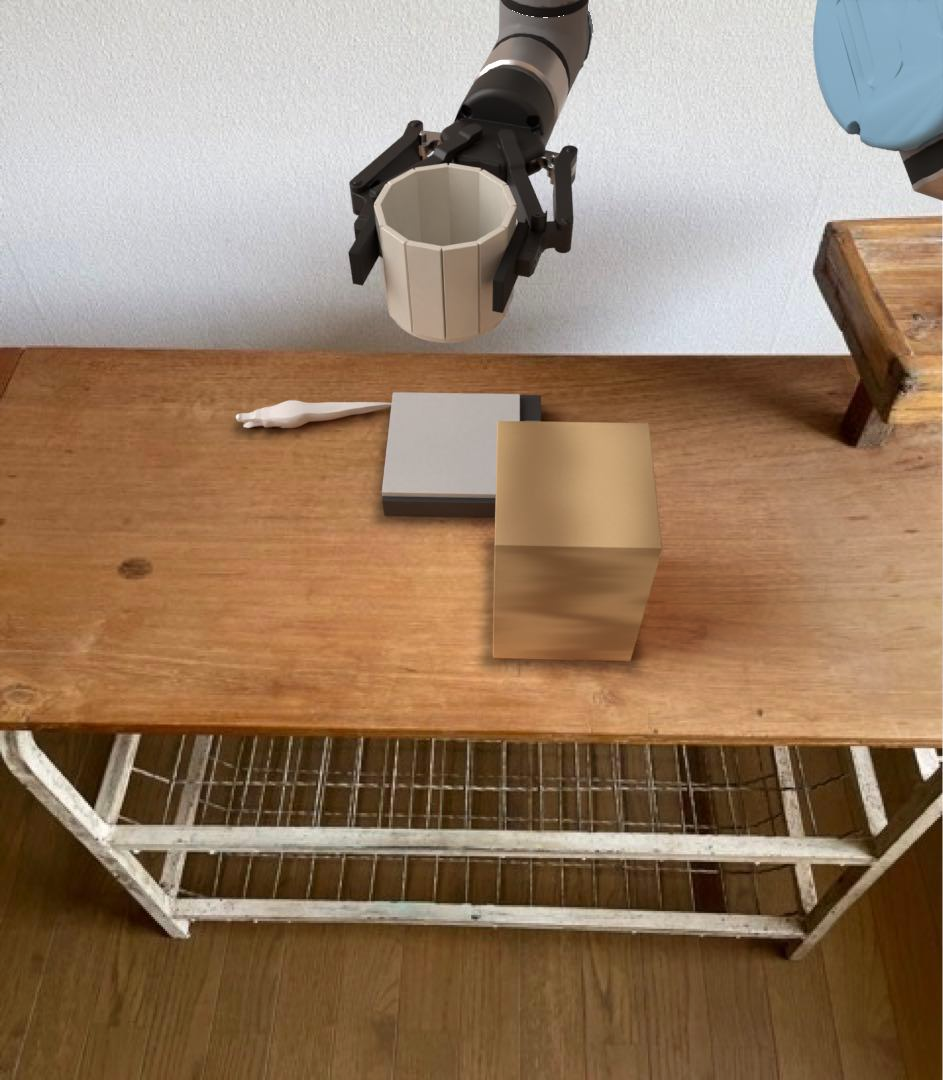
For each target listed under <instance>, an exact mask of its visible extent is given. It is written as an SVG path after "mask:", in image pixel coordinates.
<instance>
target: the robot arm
mask: <svg viewBox="0 0 943 1080" xmlns="http://www.w3.org/2000/svg"><path fill="white" fill-rule="evenodd" d="M589 2H590V0H499V3H498V9H499V10H498V35H497V40H496V42H495V44H494V45H493V47H492V50H491V51H490V53H489V55H488V56H487V58H486V60H485V62H484V63H483V65H482V66H481V68H480V70H479V72H478V74H477V75H476V77H475V79H474V80H473V83H472V85H471V86H470V88H469V90H468V92H467V93H466V95H465V97H464V99H463V100H462V102H461V103H460V105H459V108H458V110H457V113H456V115H455V118H454V121H453V122H452V123H451V124H450V125H448V126H446V127H444V128H443V129H442V131H441V132H440V131H430V130H424V123H423V121H422V120H420V119H413V120H410V121H409V122H407V125H406V128H405V129H404V132H403V134H402V135H401V136H400V137H399V138H397V140H396V141H394V142H393V143H392V144H391V145H390V146H388V147H387V148H386V149H385V150H384V151H383V152H381V153H380V154H379V155H378V156H377V157H375V159H374V160H372V161H371V162H370V163H369V164H368V165H367V166H365V167H364V168H363V169H362V170H360V171H359V173H357V174H356V175H355V176H353V178H352V179H350V181H349V183H348V185H349V192H350V200H351V208H352V213H353V214H354V215H355V216H357V218H356V219H355V221H354V223H353V231H354V238H355V240H354V242H353V244H352V245H351V247H350V249H349V250H348V251H347V253H348V260H349V261H348V262H349V267H350V273H351V280H352V281H351V282H352V285H357V286H364V284H365V283H366V281H367V279H368V277H369V275H370V274H371V272H372V271H373V268H374V266H375V265H376V263H377V261H378V259H379V258H380V256H379V248H378V239H377V230H376V221H375V212H374V203H375V201H376V199H377V198H378V196H379V194H380V193H381V191H382V189H383V187H384V186H385V184H388V183H387V182H389V181H390V180H392V179H394V178H396V177H398V176H400V175H401V174H403V173H405V172H407V171H409V170H411V169H414V170H415V168H416V167H423V166H430V165H437V164H444V163H447V164H448V166H449V164H450V163H453V164H458V165H464V166H470V167H476V168H481V170H483V169H484V170H486V171H487V172H489V173H491V174H492V175H494V176H495V177H497V178H499V179H500V180H502V181H504V182H505V183H507V185H508V186H509V188H510V190H511V193H512V195H513V197H514V200H515V202H516V204H517V213H516V228H515V230H514V233H513V235H512V237H511V240H510V242H509V244H508V246H507V248H506V250H505V253H504V255H503V257H502V260H501V262H500V264H499V267H498V269H497V271H496V273H495V276H494V278H493V297H492V311H494V312H499V313H503V312H504V309H505V307H506V304H507V302H508V299H509V297H510V295H511V292H512V290H513V287H514V288H515V285H516V283H517V280H518V278H519V276H520V277H524V278H530V277H531V276H533V275H534V273H535V272H536V268H537V267H538V263H539V261H540V258H541V256H542V254H543V253H544V252H545V251H546V250H548V249H554V251H555V252H557V253H559V254H568V253H569V252H570V251H571V249H572V242H573V241H572V240H573V230H574V203H573V202H574V201H573V184H574V183H575V181H576V175H577V174H576V172H577V165H578V164H577V163H578V153H579V149H578V147H577V146H575V145H570V144H569V145H568V144H567V145H564V146H563V147H562V148H561V150H560V151H559V152H556V151H551V150H547V145H548V143H549V141H550V138H551V137H552V134H553V131H554V128H555V126H556V124H557V122H558V120H559V118H560V115H561V113H562V111H563V108H564V106H565V104H566V102H567V99H568V97H569V95H570V92H571V90H572V88H573V86H574V84H575V82H576V79H577V77H578V75H579V73H580V71H581V70H582V69H583V67H584V65H585V64H584V63H585V62H586V60H587V59H588V57H589V54H590V49H591V44H592V40H593V36H592V33H593V34H594V30H593V24H592V19H591V15H590V12H589V11H588V4H589ZM589 5H590V4H589ZM512 10H513V11H512ZM514 11H515V12H514ZM517 12H518V13H517ZM519 13H520V14H519ZM522 14H523V15H522ZM526 15H528V16H526ZM563 15H564V16H563ZM531 16H534V17H531ZM558 16H560V17H558ZM543 17H548V18H543ZM812 46H813V47H812V48H813V50H812V51H813V62H814V67H815V73H816V79H817V82H818V83H817V84H818V86H819V89H820V93H821V95H822V98H823V101H824V102H825V104H826V107H827V108H828V111H829V112H830V114H831V115H832V117H833V118H834V120H835V121H836V123H837V124H838V126H840V127H841V128H842V130H844V131H845V133H847V134H848V135H857V136H859V140H860V142H861V143H863V144H864V145H866V146H868V147H871V148H876V149H880V150H885V151H890V152H898V153H899V155H900V158H901V160H902V164H903V166H904V169H905V171H906V175H907V177H908V179H909V182H910V184H911V185H910V186H911V188H912V190H913V192H916V193H918V194H921V195H924V196H927V197H930V198H933V199H936V200H939V201H942V202H943V0H816V5H815V11H814V20H813V30H812ZM542 169H544V170H545V171H546V176H547V178H549V179H550V180H549V183H550V184H551V185H552V216H553V220H549V221H548V210H545V212H544V210H543V207H542V205H541V203H540V200H539V198H538V195H537V193H536V191H535V189H534V186H533V184H532V181H531V179H530V176H533V175H535V174H537V173H538V172H540V171H541V170H542Z"/></svg>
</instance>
